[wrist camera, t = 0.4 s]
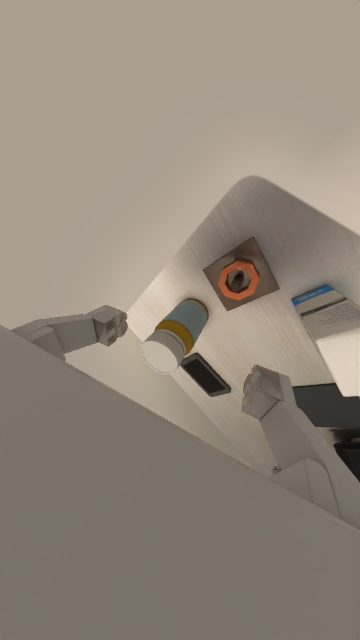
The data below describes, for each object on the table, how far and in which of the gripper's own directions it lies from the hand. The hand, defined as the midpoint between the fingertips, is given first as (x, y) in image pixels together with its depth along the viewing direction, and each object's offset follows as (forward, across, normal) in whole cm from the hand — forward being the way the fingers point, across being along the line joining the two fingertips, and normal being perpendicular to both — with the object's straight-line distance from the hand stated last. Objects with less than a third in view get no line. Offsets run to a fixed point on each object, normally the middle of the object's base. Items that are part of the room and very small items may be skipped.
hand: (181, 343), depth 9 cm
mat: (+22, -26, +22) cm, 40 cm away
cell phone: (+22, -2, +28) cm, 35 cm away
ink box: (+22, -15, +3) cm, 27 cm away
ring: (+21, -2, +1) cm, 21 cm away
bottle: (+22, +5, +10) cm, 25 cm away
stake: (+22, -2, +1) cm, 22 cm away
